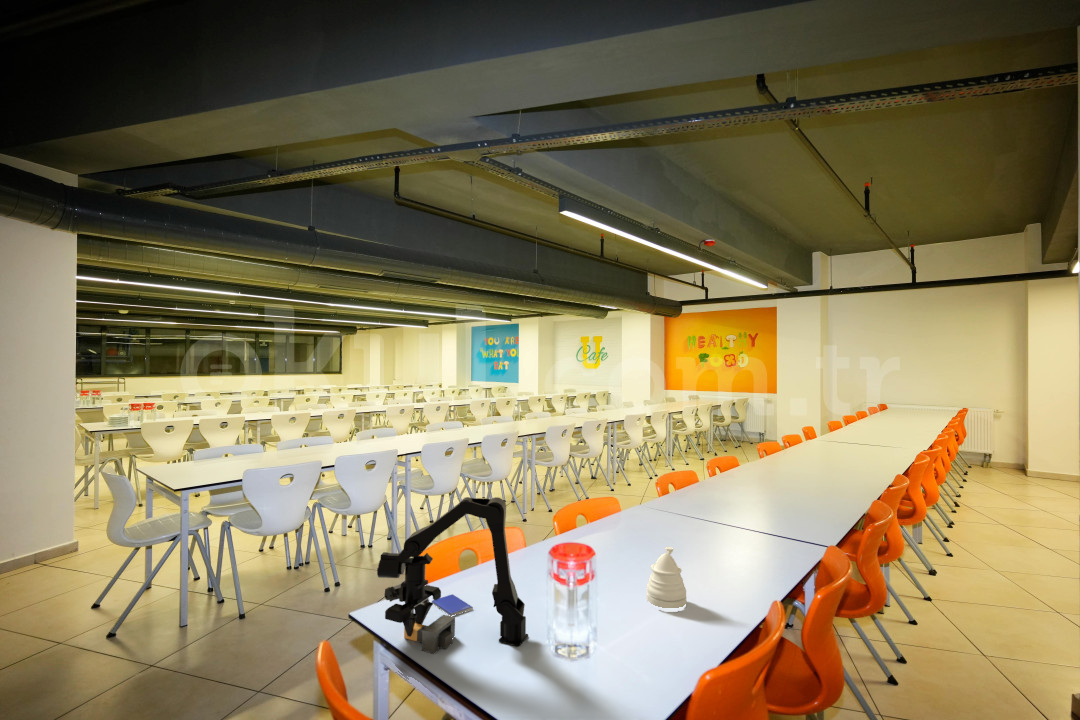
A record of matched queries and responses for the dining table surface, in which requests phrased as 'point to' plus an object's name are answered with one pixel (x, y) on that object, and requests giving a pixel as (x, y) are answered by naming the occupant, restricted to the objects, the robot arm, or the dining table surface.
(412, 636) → the plug
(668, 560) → the honey pot
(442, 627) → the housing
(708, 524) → the dining table surface
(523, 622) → the robot arm
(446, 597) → the hard drive
